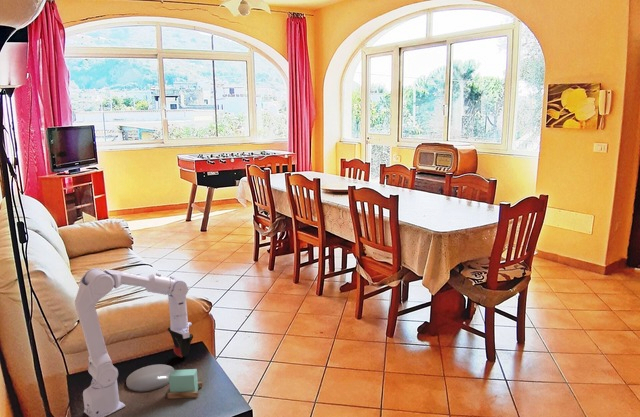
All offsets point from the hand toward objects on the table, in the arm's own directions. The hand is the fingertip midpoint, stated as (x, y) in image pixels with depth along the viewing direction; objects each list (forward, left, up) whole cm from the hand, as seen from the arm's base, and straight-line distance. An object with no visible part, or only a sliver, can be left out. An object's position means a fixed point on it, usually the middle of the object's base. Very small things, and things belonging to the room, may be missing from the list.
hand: (181, 350), depth 158 cm
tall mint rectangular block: (-5, -8, -10) cm, 14 cm away
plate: (-7, +9, -10) cm, 15 cm away
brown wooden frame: (-5, -8, -10) cm, 14 cm away
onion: (+9, +14, -10) cm, 20 cm away
